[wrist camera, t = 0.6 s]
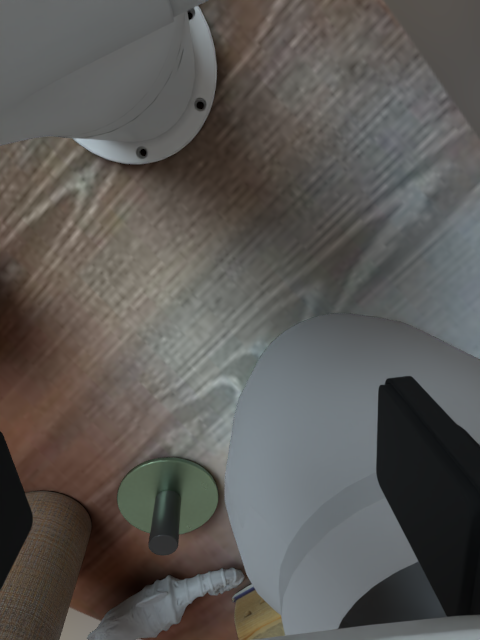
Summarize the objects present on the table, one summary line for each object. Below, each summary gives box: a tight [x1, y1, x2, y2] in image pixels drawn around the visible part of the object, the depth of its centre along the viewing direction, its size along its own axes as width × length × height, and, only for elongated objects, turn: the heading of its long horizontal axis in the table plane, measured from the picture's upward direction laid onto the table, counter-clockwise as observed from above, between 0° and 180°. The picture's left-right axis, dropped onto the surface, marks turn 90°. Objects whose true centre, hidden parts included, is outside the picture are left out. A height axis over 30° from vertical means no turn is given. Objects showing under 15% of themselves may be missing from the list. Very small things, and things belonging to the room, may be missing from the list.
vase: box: [225, 313, 480, 636], centre depth 29 cm, size 20×20×24 cm
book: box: [232, 584, 285, 640], centre depth 52 cm, size 25×17×6 cm, turn 35°
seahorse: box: [87, 568, 244, 640], centre depth 49 cm, size 5×12×20 cm
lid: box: [117, 457, 218, 555], centre depth 42 cm, size 11×11×7 cm
